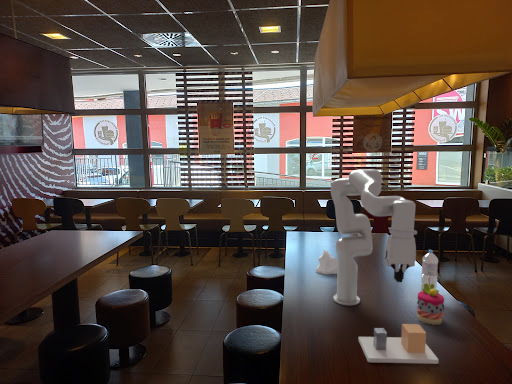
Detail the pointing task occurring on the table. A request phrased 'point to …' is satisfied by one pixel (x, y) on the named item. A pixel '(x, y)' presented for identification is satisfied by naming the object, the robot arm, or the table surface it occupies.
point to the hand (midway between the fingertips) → (398, 280)
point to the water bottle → (429, 270)
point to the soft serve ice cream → (327, 264)
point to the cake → (430, 305)
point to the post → (380, 339)
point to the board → (395, 352)
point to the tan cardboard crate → (413, 338)
